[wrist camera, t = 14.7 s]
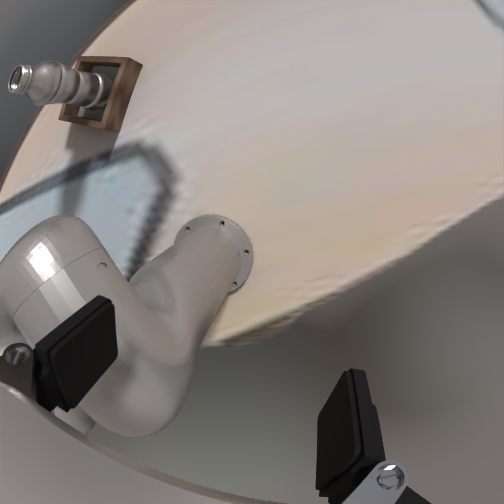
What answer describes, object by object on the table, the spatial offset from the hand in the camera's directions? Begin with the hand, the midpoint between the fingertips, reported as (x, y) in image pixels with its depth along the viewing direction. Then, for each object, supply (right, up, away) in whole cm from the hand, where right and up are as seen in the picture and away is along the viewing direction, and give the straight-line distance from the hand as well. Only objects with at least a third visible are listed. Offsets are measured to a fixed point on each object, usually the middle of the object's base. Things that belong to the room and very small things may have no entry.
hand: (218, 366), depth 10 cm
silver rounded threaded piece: (-24, +31, +28) cm, 48 cm away
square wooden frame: (-24, +32, +28) cm, 49 cm away
